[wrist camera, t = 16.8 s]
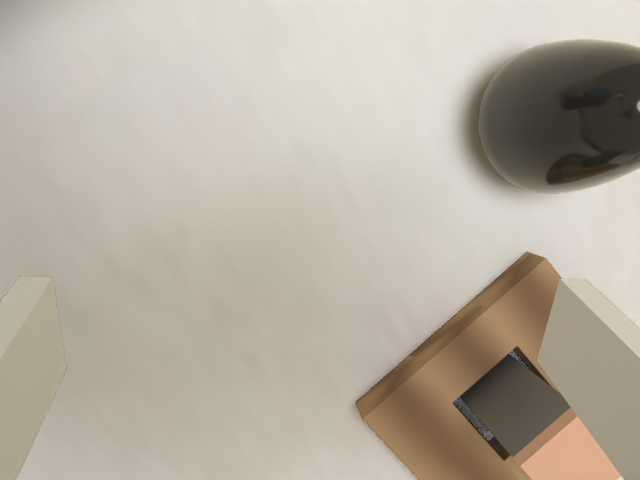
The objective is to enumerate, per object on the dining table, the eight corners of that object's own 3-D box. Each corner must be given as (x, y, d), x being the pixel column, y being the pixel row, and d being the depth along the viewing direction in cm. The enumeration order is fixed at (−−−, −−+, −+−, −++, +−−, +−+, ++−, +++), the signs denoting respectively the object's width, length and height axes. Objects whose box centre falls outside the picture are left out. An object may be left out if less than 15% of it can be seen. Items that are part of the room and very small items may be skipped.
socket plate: (463, 518, 47) (477, 541, 44) (355, 402, 45) (362, 419, 42) (626, 375, 47) (651, 390, 44) (526, 252, 45) (545, 258, 42)
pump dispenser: (601, 168, 45) (775, 171, 30) (477, 206, 44) (590, 229, 29) (575, 38, 43) (744, -28, 28) (445, 75, 42) (548, 28, 27)
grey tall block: (489, 430, 47) (568, 521, 35) (452, 387, 46) (520, 466, 34) (535, 390, 47) (630, 467, 35) (499, 347, 46) (583, 410, 34)
